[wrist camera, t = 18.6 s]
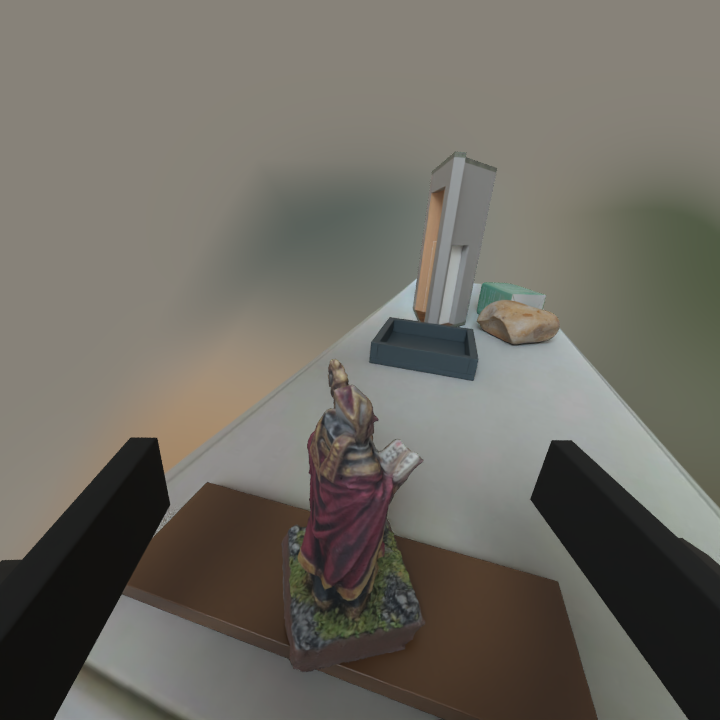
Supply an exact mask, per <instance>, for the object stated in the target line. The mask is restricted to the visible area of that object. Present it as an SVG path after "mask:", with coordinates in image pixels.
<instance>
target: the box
mask: <svg viewBox="0 0 720 720" xmlns="http://www.w3.org/2000/svg"><path fill="white" fill-rule="evenodd" d="M545 299H546V295H544V294H541V293H538V292H535V291H532V290H529V289H526V288H523V287H520V286H517V285H513V284H508V283H493V282H485V283H483V284H482V287H481V292H480V297H479V302H478V308H477V313H478V314H480V312H481V311H482V310H483V309H484V308H485V307H486V306H488V305H489V304H491V303H493V302H496V301H499V300H511V301H516V302H520V303H523V304H526V305H528V306H531V307H535V308H538V309H542V310H543V306H544V303H545Z"/></svg>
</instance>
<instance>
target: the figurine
mask: <svg viewBox="0 0 720 720" xmlns="http://www.w3.org/2000/svg"><path fill="white" fill-rule="evenodd" d="M328 372H329V374H328V379H329V387H331V396H332V397H333V398H334V408H333V409H332V408H331V409H328V410H326V411H325V412H324V414H323V416H322V417H321V419H320V420H319V422H318V423H317V426H316V429H315V431H314V432H313V433H312V434H311V435H310V438H309V440H308V444H307V448H308V453H309V464H310V470H309V474H310V475H311V479H310V499H309V501H310V508H311V510H310V517H309V518H308V524H307V526H306V527H300V526H298V525H295V526H293V527H291V528H290V529H289V530H288V533H287V534H286V536H285V537H284V539H283V541H282V544H281V545H282V557H283V565H282V567H283V599H284V619H285V627H286V630H287V636H288V640H289V643H290V655H289V656H290V659H289V660H290V662H291V664H292V665H293V669H299V670H300V671H302V672H308V671H313V670H316V669H321V668H322V669H324V668H326V667H327V668H328V667H331V666H332V665H335V664H340V663H342V662H345V663H346V662H349V661H350V662H351V661H356V660H359V659H360V658H361V659H365V658H366V659H367V657H372V656H373V657H374V656H375V655H377V656H378V655H380V654H384V653H391V652H394V651H399V650H403V649H405V647H406V646H405V645H404V644H407V643H408V642H410V641H411V640H413V636H414V635H415V633H416V632H417V631H418V630H419V628H421V627H422V626H423V625H425V620H424V618H423V616H422V614H421V607H420V604H419V602H418V599H417V597H416V594H415V591H414V589H413V587H412V584H411V582H410V578H409V574H408V572H407V568H406V566H405V564H404V562H403V558H402V554H401V552H400V550H399V547H398V544H397V541H396V539H395V537H394V533H393V532H392V530H391V527H390V523H389V521H388V519H387V518H386V517H387V511H388V506H389V504H390V502H391V500H392V498H393V496H394V494H395V493H396V491H397V490H398V489H399V487H400V486H401V485H402V484H403V483H404V482H405V481H406V480H407V478H408V476H409V475H410V473H411V472H412V471H413V470H414V469H415V468H416V467H417V466H418V465H419V464H421V463H422V462H423V459H421V458H420V456H419V455H418V453H416V452H412V451H411V450H409V449H408V448H407V447H406V446H405V445H404V444H403V443H402V441H401V440H399V439H395V440H393V441H392V442H391V443H390V444H389V445H388V446H387V447H385V449H384V450H382V451H380V452H379V451H378V450H377V449H376V448H375V445H374V443H373V435H372V434H373V433H374V422H375V421H378V418H377V417H376V416H375V415H374V413H373V407H372V403H371V401H370V400H369V399H368V398H367V397H366V396H365V395H364V394H363V393H362V392H361V391H360V390H359V389H357V388H356V387H355V386H354V385H349V384H348V378H347V374H346V373H345V369H344V367H343V366H342V364H341V363H340V362H339V361H338V360H336V359H332V360H331V361H330V364H329V367H328Z"/></svg>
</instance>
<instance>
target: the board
mask: <svg viewBox="0 0 720 720" xmlns="http://www.w3.org/2000/svg"><path fill="white" fill-rule="evenodd" d="M309 517H310V511H307V510H304V509H300V508H297V507H293V506H290V505H286V504H283V503H279V502H276V501H272V500H268V499H265V498H261V497H258V496H254V495H251V494H247V493H244V492H240V491H237V490H233V489H230V488H226V487H223V486H219V485H216V484H212V483H209V482H207V483H206V484H205V485H204V486H203V487H202V488H201V489H200V490H199V491H198V492H197V493H196V494H195V495H194V496H193V497H192V498H191V499H190V500H189V501H188V502H187V503H186V504H185V505H184V506H183V507H182V508H181V509H180V510H179V511H178V513H177V514H176V515H175V516H174V517H173V518H172V519H171V520H170V521H169V522H168V523H167V524H166V525H165V526H164V527H163V528H162V529H161V530H160V531H159V532H158V533H157V534H156V535H155V536H154V537H153V538H152V539H151V541H150V543H149V545H148V547H147V548H146V550H145V552H144V554H143V556H142V558H141V559H140V561H139V563H138V565H137V567H136V569H135V570H134V572H133V574H132V576H131V578H130V580H129V582H128V583H127V585H126V587H125V589H124V591H123V593H122V594H123V595H125V596H128V597H131V598H133V599H136V600H138V601H141V602H143V603H146V604H149V605H151V606H154V607H156V608H159V609H161V610H164V611H167V612H169V613H172V614H174V615H177V616H179V617H182V618H185V619H187V620H190V621H192V622H195V623H197V624H200V625H203V626H205V627H208V628H210V629H213V630H216V631H218V632H221V633H223V634H226V635H228V636H231V637H234V638H236V639H239V640H241V641H244V642H246V643H249V644H252V645H254V646H257V647H259V648H262V649H264V650H267V651H270V652H272V653H275V654H277V655H280V656H282V657H285V658H288V659H290V656H289V655H290V643H289V640H288V636H287V630H286V627H285V619H284V599H283V567H282V565H283V557H282V545H281V544H282V541H283V539H284V537H285V536H286V534H287V533H288V530H289V529H290V528H291V527H293V526H295V525H298V526H300V527H306V526H307V524H308V518H309ZM394 537H395V539H396V541H397V544H398V547H399V550H400V552H401V554H402V558H403V562H404V564H405V566H406V568H407V572H408V574H409V578H410V582H411V584H412V587H413V589H414V591H415V594H416V597H417V599H418V602H419V604H420V607H421V614H422V616H423V618H424V620H425V625H423V626H422V627H421V628H419V630H418V631H417V632H416V633H415V635H414V636H413V640H411V641H410V642H408V643H407V644H404V645H405V646H406V647H405V649H403V650H399V651H394V652H391V653H384V654H380V655H378V656H377V655H375V656H374V657H373V656H372V657H367V659H366V658H365V659H361V658H360V659H359V660H356V661H351V662H350V661H349V662H346V663H345V662H342V663H340V664H335V665H332V666H331V667H328V668H327V667H326V668H324V669H322V668H321V669H316V670H318V671H321V672H324V673H326V674H329V675H331V676H334V677H336V678H339V679H342V680H344V681H347V682H349V683H352V684H354V685H357V686H360V687H362V688H365V689H367V690H370V691H372V692H375V693H378V694H380V695H383V696H385V697H388V698H390V699H393V700H396V701H398V702H401V703H403V704H406V705H408V706H411V707H414V708H416V709H419V710H421V711H424V712H426V713H429V714H432V715H434V716H437V717H439V718H442V719H444V720H598V718H597V715H596V711H595V708H594V705H593V701H592V698H591V694H590V691H589V687H588V684H587V680H586V677H585V673H584V670H583V666H582V663H581V659H580V656H579V653H578V649H577V646H576V642H575V639H574V635H573V632H572V628H571V625H570V621H569V618H568V614H567V611H566V607H565V604H564V601H563V597H562V594H561V590H560V587H559V583H558V581H554V580H551V579H547V578H544V577H540V576H537V575H533V574H530V573H526V572H523V571H519V570H516V569H512V568H508V567H505V566H501V565H498V564H494V563H491V562H487V561H484V560H480V559H477V558H473V557H470V556H466V555H463V554H459V553H456V552H452V551H448V550H445V549H441V548H438V547H434V546H431V545H427V544H424V543H420V542H417V541H413V540H410V539H406V538H403V537H399V536H396V535H394Z"/></svg>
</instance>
